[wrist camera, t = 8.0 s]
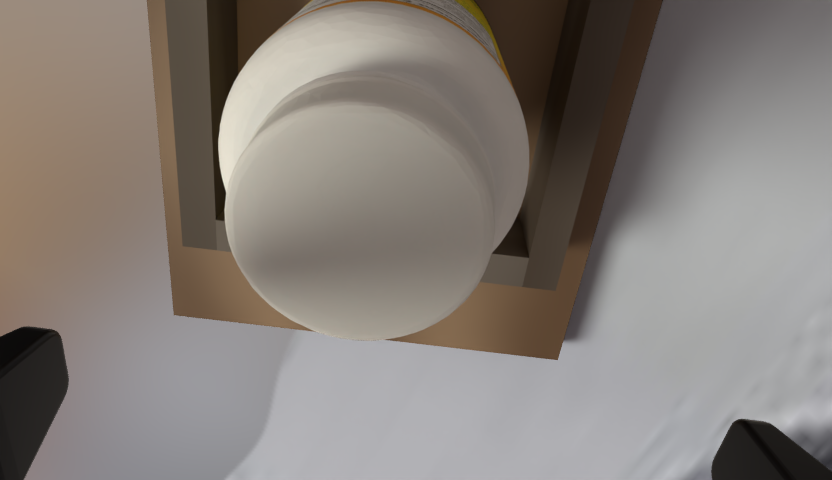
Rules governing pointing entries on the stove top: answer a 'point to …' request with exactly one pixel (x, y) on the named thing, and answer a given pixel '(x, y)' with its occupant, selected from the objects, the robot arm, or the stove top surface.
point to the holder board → (548, 157)
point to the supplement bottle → (372, 164)
